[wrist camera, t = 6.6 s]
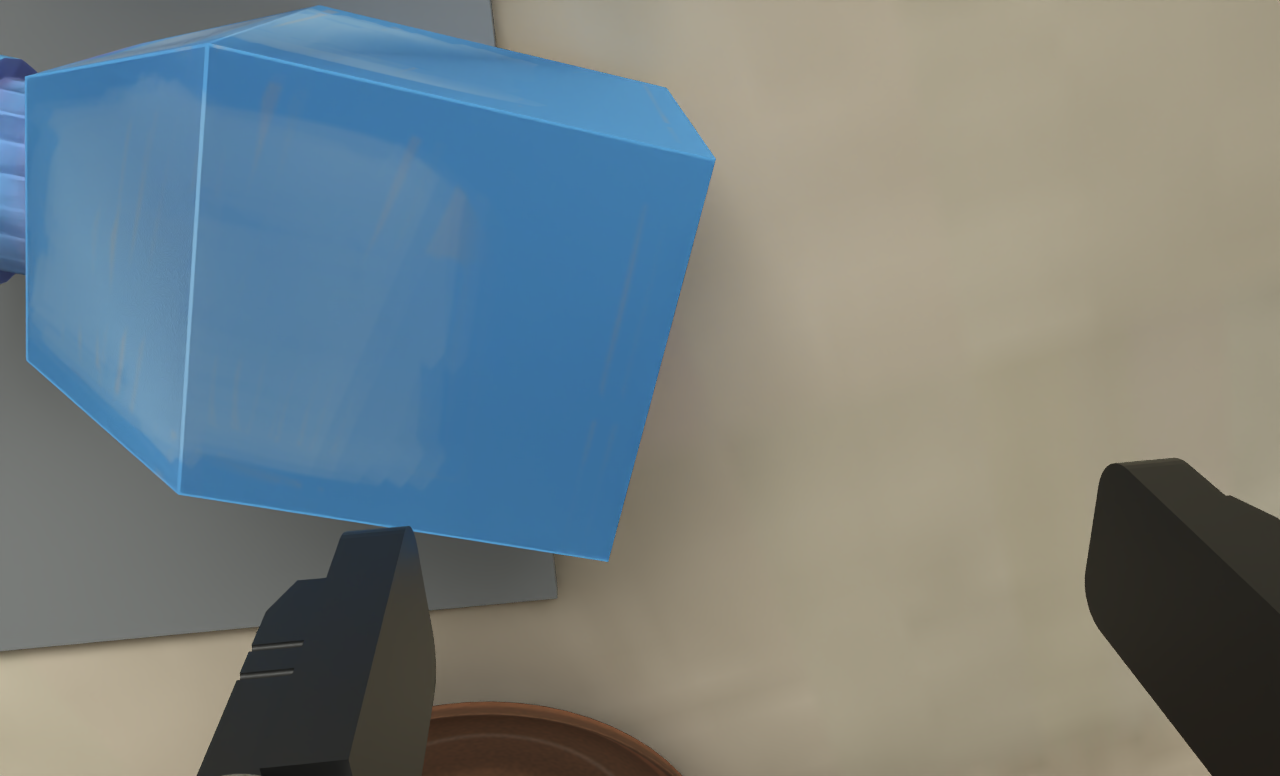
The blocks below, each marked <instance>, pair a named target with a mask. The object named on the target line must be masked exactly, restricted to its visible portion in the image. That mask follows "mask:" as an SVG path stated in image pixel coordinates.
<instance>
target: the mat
mask: <svg viewBox="0 0 1280 776" xmlns="http://www.w3.org/2000/svg"><path fill="white" fill-rule="evenodd" d="M317 5H321V6H325V7H329V8H334V9H338V10H342V11H346V12H350V13H355V14H359V15H363V16H367V17H371V18H376V19H380V20H384V21H388V22H392V23H397V24H401V25H405V26H409V27H413V28H418V29H422V30H426V31H430V32H434V33H439V34H443V35H447V36H451V37H455V38H460V39H464V40H468V41H472V42H476V43H481V44H485V45H489V46H493V47H496V39H495V31H494V22H493V13H492V4H491V0H0V55H5V56H9V57H14V58H18V59H22V60H23V61H25V62H26V63H27V64H28V65H29V66H31V67H32V68H33V69H34V70H36V71H37V73H39V72H43V71H46V70H50V69H53V68H57V67H60V66H64V65H67V64H71V63H74V62H78V61H81V60H85V59H88V58H92V57H95V56H99V55H102V54H106V53H109V52H113V51H116V50H120V49H123V48H127V47H130V46H134V45H137V44H141V43H145V42H150V41H154V40H159V39H164V38H168V37H173V36H178V35H182V34H187V33H192V32H196V31H201V30H206V29H210V28H215V27H220V26H224V25H229V24H234V23H238V22H243V21H248V20H252V19H257V18H262V17H266V16H271V15H276V14H280V13H285V12H290V11H294V10H299V9H304V8H308V7H313V6H317ZM379 528H388V527H382V526H376V525H369V524H363V523H356V522H350V521H344V520H337V519H331V518H324V517H318V516H312V515H305V514H299V513H292V512H286V511H280V510H273V509H267V508H260V507H254V506H248V505H241V504H235V503H228V502H222V501H216V500H209V499H203V498H196V497H190V496H184V495H178V494H177V493H176V492H175V491H174V490H172V489H171V488H170V487H169V486H168V485H167V484H166V483H165V482H163V481H162V480H161V479H160V478H159V477H158V476H157V475H155V474H154V473H153V472H152V471H151V470H150V469H149V468H148V467H146V466H145V465H144V464H143V463H142V462H141V461H140V460H138V459H137V458H136V457H135V456H134V455H133V454H132V453H131V452H129V451H128V450H127V449H126V448H125V447H124V446H123V445H121V444H120V443H119V442H118V441H117V440H116V439H115V438H114V437H112V436H111V435H110V434H109V433H108V432H107V431H106V430H104V429H103V428H102V427H101V426H100V425H99V424H98V423H97V422H95V421H94V420H93V419H92V418H91V417H90V416H89V415H87V414H86V413H85V412H84V411H83V410H82V409H81V408H80V407H78V406H77V405H76V404H75V403H74V402H73V401H72V400H70V399H69V398H68V397H67V396H66V395H65V394H64V393H63V392H61V391H60V390H59V389H58V388H57V387H56V386H55V385H53V384H52V383H51V382H50V381H49V380H48V379H47V378H46V377H44V376H43V375H42V374H41V373H40V372H39V371H38V370H36V369H35V368H34V367H33V366H32V365H31V364H30V363H29V362H27V361H26V275H22V274H17V273H16V274H14V275H13V276H12V277H11V278H10V279H9V280H8V281H7V282H5V283H2V284H0V651H7V650H18V649H28V648H39V647H49V646H60V645H70V644H81V643H91V642H102V641H113V640H123V639H134V638H144V637H155V636H165V635H176V634H186V633H197V632H208V631H218V630H229V629H239V628H250V627H260V624H261V622H262V619H263V617H264V615H265V612H266V611H267V610H268V609H269V608H270V607H271V606H272V605H273V604H274V603H275V602H276V601H277V600H278V599H279V598H280V597H281V596H282V595H283V594H284V593H285V592H286V591H287V590H288V589H289V588H290V587H291V586H292V585H293V584H294V583H295V582H296V581H297V580H307V579H318V578H326V577H327V574H328V571H329V568H330V565H331V562H332V560H333V557H334V554H335V551H336V548H337V545H338V542H339V540H340V537H341V535H342V534H343V533H344V532H346V531H358V530H368V529H379ZM413 532H414V531H413ZM414 535H415V538H416V543H417V548H418V553H419V559H420V564H421V570H422V575H423V581H424V586H425V592H426V598H427V603H428V609H429V610H440V609H450V608H461V607H471V606H482V605H492V604H503V603H513V602H524V601H534V600H545V599H556V598H557V580H556V571H555V562H554V553H548V552H542V551H536V550H529V549H523V548H516V547H510V546H504V545H497V544H491V543H484V542H478V541H472V540H465V539H459V538H452V537H446V536H440V535H433V534H427V533H420V532H414Z"/></svg>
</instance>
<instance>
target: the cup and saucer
mask: <svg viewBox="0 0 1280 776" xmlns="http://www.w3.org/2000/svg"><path fill="white" fill-rule="evenodd" d="M422 776H682V775H681V774H680V773H679V772H678V771H677V770H676V769H675V768H674V767H673V766H672V765H671V764H670V763H669V762H668V761H667V760H665V759H664V758H663V757H661V756H660V755H659V754H658V753H656V752H655V751H654V750H652V749H651V748H650V747H648V746H646V745H645V744H643V743H642V742H640V741H638V740H637V739H635V738H634V737H632V736H630V735H628V734H626V733H624V732H622V731H620V730H618V729H616V728H614V727H612V726H609V725H607V724H604V723H602V722H599V721H597V720H594V719H591V718H588V717H585V716H582V715H578V714H575V713H572V712H568V711H564V710H559V709H554V708H550V707H545V706H538V705H530V704H523V703H510V702H465V703H455V704H445V705H438V706H432V713H431V719H430V725H429V732H428V738H427V745H426V751H425V757H424V764H423V770H422Z"/></svg>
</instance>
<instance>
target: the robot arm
mask: <svg viewBox="0 0 1280 776" xmlns="http://www.w3.org/2000/svg"><path fill="white" fill-rule="evenodd" d="M1085 592H1086V598H1087V602H1088V606H1089V610H1090V613H1091V615H1092V617H1093V620H1094V622H1095V624H1096V625H1097V627H1098V629H1099V630H1100V631H1101V633H1102V634H1103V635H1104V637H1105V638H1106V639H1107V640H1108V642H1109V643H1110V644H1111V646H1112V647H1113V648H1114V650H1115V651H1116V652H1117V653H1118V655H1119V656H1120V657H1121V659H1122V660H1123V661H1124V662H1125V664H1126V665H1127V666H1128V668H1129V669H1130V670H1131V672H1132V673H1133V674H1134V675H1135V677H1136V678H1137V679H1138V681H1139V682H1140V683H1141V684H1142V686H1143V687H1144V688H1145V690H1146V691H1147V692H1148V693H1149V695H1150V696H1151V697H1152V699H1153V700H1154V701H1155V703H1156V704H1157V705H1158V706H1159V708H1160V709H1161V710H1162V712H1163V713H1164V714H1165V715H1166V717H1167V718H1168V719H1169V721H1170V722H1171V723H1172V724H1173V726H1174V727H1175V728H1176V730H1177V731H1178V732H1179V734H1180V735H1181V736H1182V737H1183V739H1184V740H1185V741H1186V743H1187V744H1188V745H1189V746H1190V748H1191V749H1192V750H1193V752H1194V753H1195V754H1196V756H1197V757H1198V758H1199V759H1200V761H1201V762H1202V763H1203V765H1204V766H1205V767H1206V768H1207V770H1208V771H1209V772H1210V774H1211V775H1212V776H1280V520H1279V519H1278V518H1276V517H1274V516H1272V515H1270V514H1268V513H1266V512H1264V511H1262V510H1260V509H1258V508H1256V507H1253V506H1251V505H1249V504H1247V503H1245V502H1243V501H1241V500H1239V499H1237V498H1235V497H1233V496H1225V495H1224V494H1223V493H1222V492H1220V491H1219V490H1218V489H1217V488H1216V487H1215V486H1213V485H1212V484H1211V483H1210V482H1209V481H1208V480H1206V479H1205V478H1204V477H1203V476H1202V475H1200V474H1199V473H1198V472H1197V471H1196V470H1195V469H1193V468H1192V467H1191V466H1190V465H1189V464H1188V463H1186V462H1185V461H1183V460H1181V459H1178V458H1168V459H1157V460H1146V461H1135V462H1124V463H1114V464H1110V465H1109V466H1107V467H1106V468H1105V470H1104V471H1103V473H1102V475H1101V478H1100V482H1099V486H1098V493H1097V500H1096V506H1095V513H1094V519H1093V526H1092V532H1091V539H1090V545H1089V552H1088V558H1087V565H1086V571H1085ZM435 682H436V659H435V645H434V637H433V631H432V625H431V620H430V614H429V609H428V603H427V598H426V592H425V586H424V581H423V575H422V570H421V564H420V559H419V553H418V548H417V543H416V538H415V535H414V532H413V530H412V528H411V527H410V526H401V527H390V528H379V529H368V530H358V531H346V532H344V533H343V534H342V535H341V537H340V540H339V542H338V545H337V548H336V551H335V554H334V557H333V560H332V562H331V565H330V568H329V571H328V574H327V577H326V578H318V579H307V580H297V581H296V582H295V583H294V584H293V585H292V586H291V587H290V588H289V589H288V590H287V591H286V592H285V593H284V594H283V595H282V596H281V597H280V598H279V599H278V600H277V601H276V602H275V603H274V604H273V605H272V606H271V607H270V608H269V609H268V610H267V611H266V612H265V615H264V617H263V619H262V622H261V624H260V627H259V629H258V631H257V634H256V636H255V638H254V641H253V643H252V652H249V653H248V655H247V658H246V660H245V662H244V665H243V667H242V669H241V672H240V680H237V681H236V684H235V686H234V688H233V691H232V693H231V696H230V698H229V700H228V703H227V705H226V707H225V710H224V712H223V715H222V717H221V719H220V722H219V724H218V726H217V729H216V731H215V734H214V736H213V738H212V741H211V743H210V745H209V748H208V750H207V753H206V755H205V757H204V760H203V762H202V765H201V767H200V769H199V772H198V774H197V776H422V770H423V764H424V757H425V751H426V745H427V738H428V732H429V725H430V719H431V713H432V706H433V700H434V693H435Z"/></svg>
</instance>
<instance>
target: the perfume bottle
mask: <svg viewBox="0 0 1280 776" xmlns="http://www.w3.org/2000/svg"><path fill="white" fill-rule="evenodd" d="M715 160H716V159H715V157H714V156H713V154H712V153H711V151H710V150H709V149H708V147H707V146H706V144H705V143H704V141H703V140H702V138H701V137H700V136H699V134H698V133H697V131H696V130H695V128H694V127H693V125H692V124H691V123H690V121H689V120H688V118H687V117H686V115H685V114H684V112H683V111H682V110H681V108H680V107H679V105H678V104H677V102H676V101H675V99H674V98H673V97H672V95H671V94H670V92H669V91H668V89H667V88H665V87H661V86H657V85H653V84H648V83H644V82H640V81H636V80H632V79H627V78H623V77H619V76H615V75H611V74H606V73H602V72H598V71H594V70H590V69H585V68H581V67H577V66H573V65H569V64H564V63H560V62H556V61H552V60H548V59H543V58H539V57H535V56H531V55H527V54H522V53H518V52H514V51H510V50H506V49H502V48H497V47H493V46H489V45H485V44H481V43H476V42H472V41H468V40H464V39H460V38H455V37H451V36H447V35H443V34H439V33H434V32H430V31H426V30H422V29H418V28H413V27H409V26H405V25H401V24H397V23H392V22H388V21H384V20H380V19H376V18H371V17H367V16H363V15H359V14H355V13H350V12H346V11H342V10H338V9H334V8H329V7H325V6H321V5H317V6H313V7H308V8H304V9H299V10H294V11H290V12H285V13H280V14H276V15H271V16H266V17H262V18H257V19H252V20H248V21H243V22H238V23H234V24H229V25H224V26H220V27H215V28H210V29H206V30H201V31H196V32H192V33H187V34H182V35H178V36H173V37H168V38H164V39H159V40H154V41H150V42H145V43H141V44H137V45H134V46H130V47H127V48H123V49H120V50H116V51H113V52H109V53H106V54H102V55H99V56H95V57H92V58H88V59H85V60H81V61H78V62H74V63H71V64H67V65H64V66H60V67H57V68H53V69H50V70H46V71H43V72H39V73H37V71H36V70H34V69H33V68H32V67H31V66H29V65H28V64H27V63H26V62H25V61H23V60H22V59H18V58H14V57H9V56H5V55H0V284H2V283H5V282H7V281H8V280H9V279H10V278H11V277H12V276H13V275H14V274H16V273H17V274H22V275H26V361H27V362H29V363H30V364H31V365H32V366H33V367H34V368H35V369H36V370H38V371H39V372H40V373H41V374H42V375H43V376H44V377H46V378H47V379H48V380H49V381H50V382H51V383H52V384H53V385H55V386H56V387H57V388H58V389H59V390H60V391H61V392H63V393H64V394H65V395H66V396H67V397H68V398H69V399H70V400H72V401H73V402H74V403H75V404H76V405H77V406H78V407H80V408H81V409H82V410H83V411H84V412H85V413H86V414H87V415H89V416H90V417H91V418H92V419H93V420H94V421H95V422H97V423H98V424H99V425H100V426H101V427H102V428H103V429H104V430H106V431H107V432H108V433H109V434H110V435H111V436H112V437H114V438H115V439H116V440H117V441H118V442H119V443H120V444H121V445H123V446H124V447H125V448H126V449H127V450H128V451H129V452H131V453H132V454H133V455H134V456H135V457H136V458H137V459H138V460H140V461H141V462H142V463H143V464H144V465H145V466H146V467H148V468H149V469H150V470H151V471H152V472H153V473H154V474H155V475H157V476H158V477H159V478H160V479H161V480H162V481H163V482H165V483H166V484H167V485H168V486H169V487H170V488H171V489H172V490H174V491H175V492H176V493H177V494H178V495H184V496H190V497H196V498H203V499H209V500H216V501H222V502H228V503H235V504H241V505H248V506H254V507H260V508H267V509H273V510H280V511H286V512H292V513H299V514H305V515H312V516H318V517H324V518H331V519H337V520H344V521H350V522H356V523H363V524H369V525H376V526H382V527H388V528H390V527H401V526H410V527H411V528H412V530H413V531H414V532H420V533H427V534H433V535H440V536H446V537H452V538H459V539H465V540H472V541H478V542H484V543H491V544H497V545H504V546H510V547H516V548H523V549H529V550H536V551H542V552H548V553H555V554H561V555H567V556H574V557H580V558H587V559H593V560H599V561H606V562H608V560H609V556H610V553H611V549H612V545H613V541H614V538H615V534H616V530H617V527H618V523H619V519H620V515H621V512H622V508H623V504H624V500H625V497H626V493H627V489H628V485H629V482H630V478H631V474H632V470H633V467H634V463H635V459H636V455H637V452H638V448H639V444H640V440H641V437H642V433H643V429H644V425H645V422H646V418H647V414H648V410H649V407H650V403H651V399H652V395H653V392H654V388H655V384H656V381H657V377H658V373H659V369H660V366H661V362H662V358H663V354H664V351H665V347H666V343H667V339H668V336H669V332H670V328H671V324H672V321H673V317H674V313H675V309H676V306H677V302H678V298H679V294H680V291H681V287H682V283H683V279H684V276H685V272H686V268H687V264H688V261H689V257H690V253H691V249H692V246H693V242H694V238H695V235H696V231H697V227H698V223H699V220H700V216H701V212H702V208H703V205H704V201H705V197H706V193H707V190H708V186H709V182H710V178H711V175H712V171H713V167H714V163H715Z"/></svg>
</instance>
